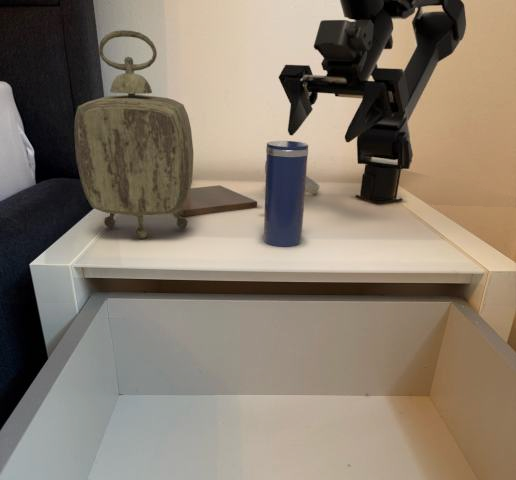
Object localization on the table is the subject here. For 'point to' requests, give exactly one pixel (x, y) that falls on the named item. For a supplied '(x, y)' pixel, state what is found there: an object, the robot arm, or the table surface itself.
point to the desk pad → (214, 201)
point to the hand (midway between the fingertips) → (317, 136)
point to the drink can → (285, 192)
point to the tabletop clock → (134, 147)
